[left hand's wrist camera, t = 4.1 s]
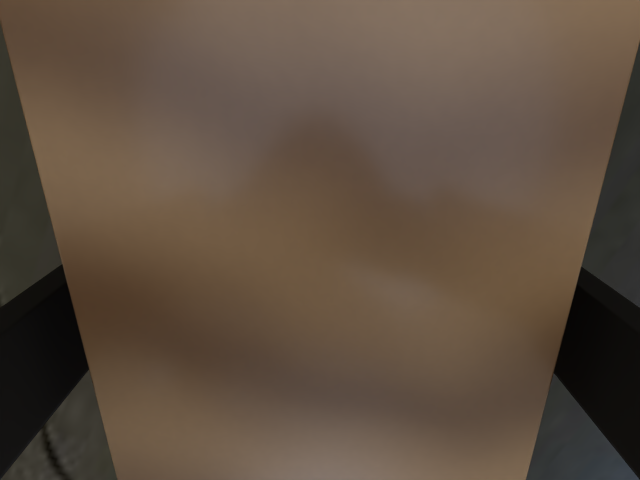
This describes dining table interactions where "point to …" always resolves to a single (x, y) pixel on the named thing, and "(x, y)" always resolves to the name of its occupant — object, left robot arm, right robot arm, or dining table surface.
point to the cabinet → (321, 221)
